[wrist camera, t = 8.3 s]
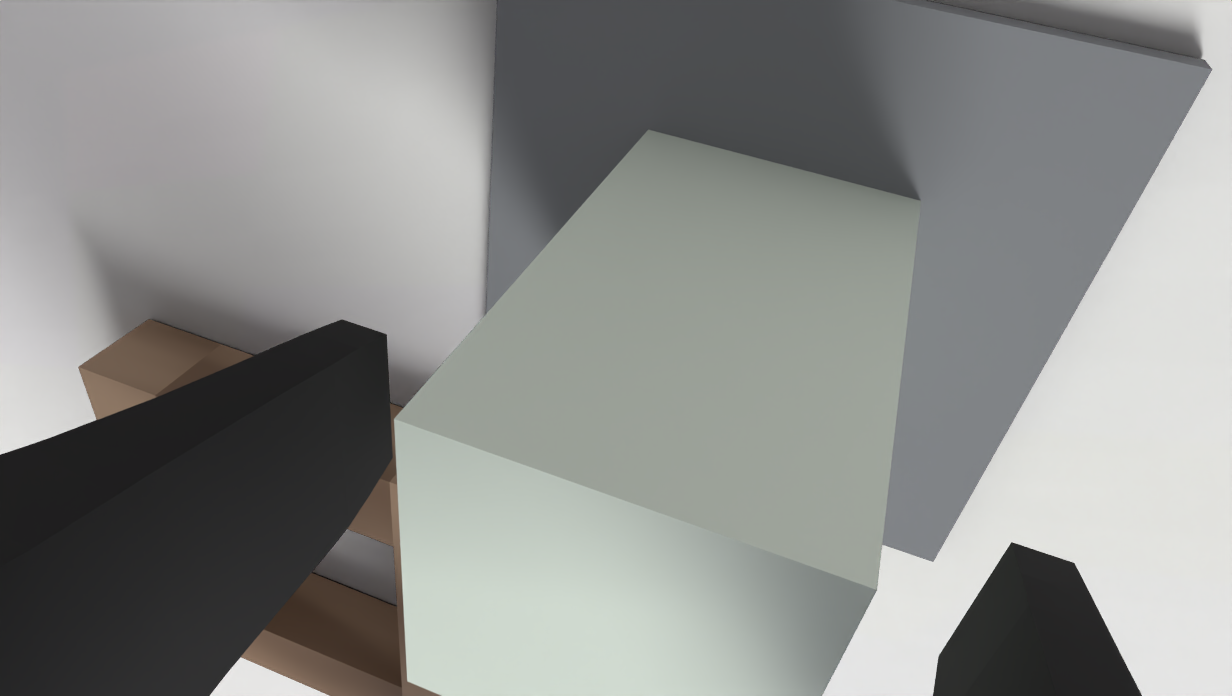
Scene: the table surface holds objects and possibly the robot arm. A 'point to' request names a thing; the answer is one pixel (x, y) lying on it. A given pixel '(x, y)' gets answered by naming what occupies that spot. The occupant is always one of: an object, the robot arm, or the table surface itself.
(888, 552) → the table surface
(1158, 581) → the table surface
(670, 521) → the part block
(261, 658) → the frame
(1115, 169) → the mat
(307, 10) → the table surface
